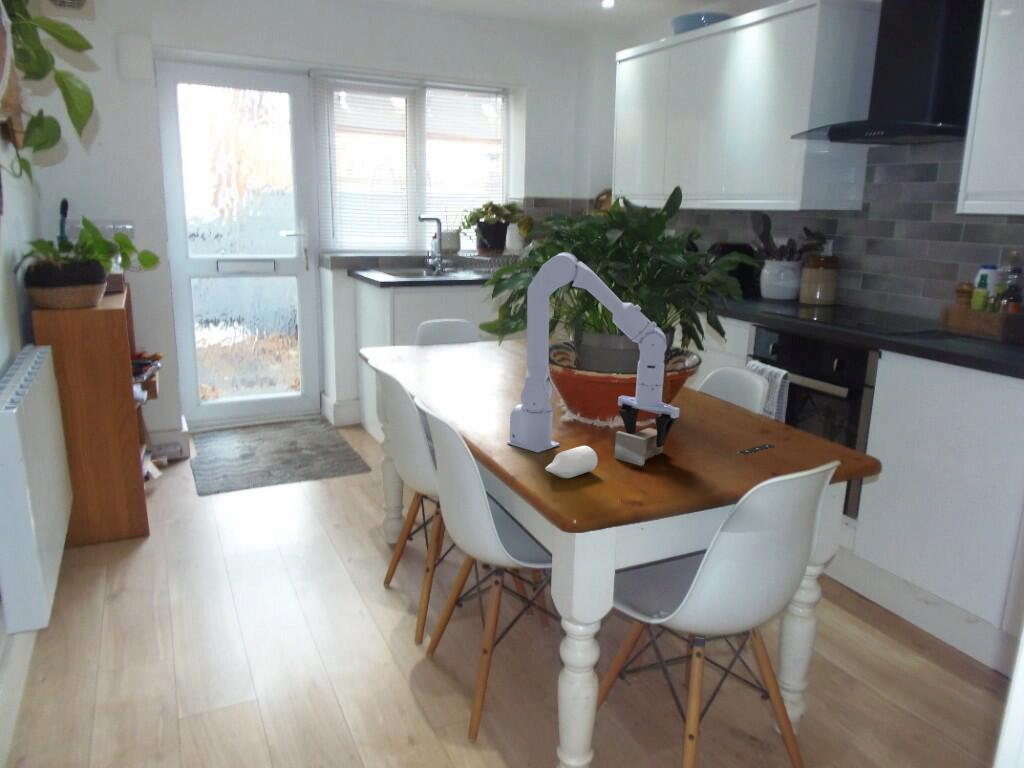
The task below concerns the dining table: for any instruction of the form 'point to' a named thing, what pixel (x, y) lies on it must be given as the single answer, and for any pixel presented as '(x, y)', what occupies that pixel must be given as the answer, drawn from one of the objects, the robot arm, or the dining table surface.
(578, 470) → the white pointed cylinder
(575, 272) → the robot arm
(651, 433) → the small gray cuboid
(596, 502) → the dining table surface
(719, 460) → the dining table surface
